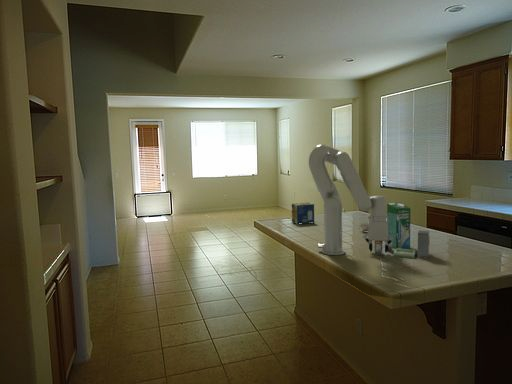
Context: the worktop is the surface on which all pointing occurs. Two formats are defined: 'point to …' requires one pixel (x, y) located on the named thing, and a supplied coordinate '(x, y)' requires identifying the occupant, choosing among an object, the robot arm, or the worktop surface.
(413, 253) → the tray
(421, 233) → the block
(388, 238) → the clear glass jar
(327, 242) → the robot arm
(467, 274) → the worktop surface
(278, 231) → the worktop surface
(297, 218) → the protein box
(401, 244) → the milk carton
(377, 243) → the copper lidded jar
